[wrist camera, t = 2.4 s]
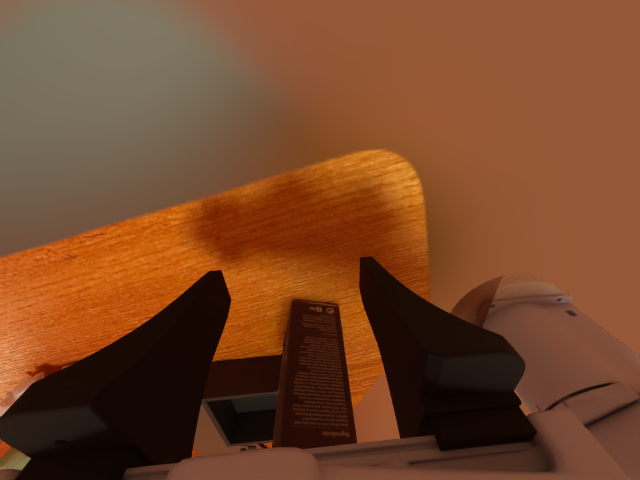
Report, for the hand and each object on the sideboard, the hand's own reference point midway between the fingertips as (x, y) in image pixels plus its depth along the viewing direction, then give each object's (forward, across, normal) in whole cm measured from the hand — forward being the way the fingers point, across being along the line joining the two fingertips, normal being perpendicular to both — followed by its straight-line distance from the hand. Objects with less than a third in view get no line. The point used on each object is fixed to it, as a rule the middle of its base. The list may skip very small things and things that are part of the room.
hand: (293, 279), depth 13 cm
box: (+6, 0, +10) cm, 11 cm away
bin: (+5, +5, +18) cm, 20 cm away
